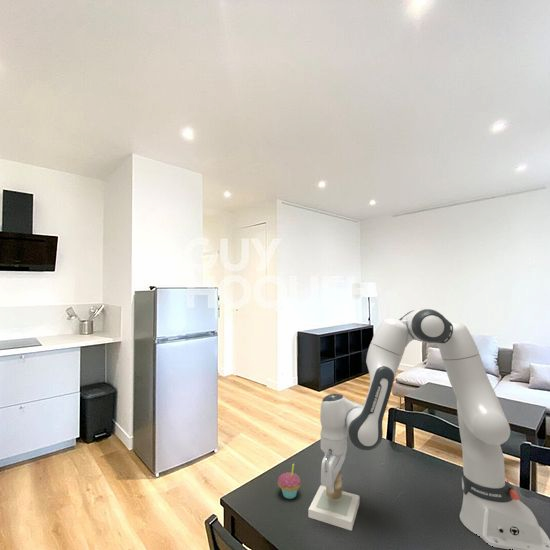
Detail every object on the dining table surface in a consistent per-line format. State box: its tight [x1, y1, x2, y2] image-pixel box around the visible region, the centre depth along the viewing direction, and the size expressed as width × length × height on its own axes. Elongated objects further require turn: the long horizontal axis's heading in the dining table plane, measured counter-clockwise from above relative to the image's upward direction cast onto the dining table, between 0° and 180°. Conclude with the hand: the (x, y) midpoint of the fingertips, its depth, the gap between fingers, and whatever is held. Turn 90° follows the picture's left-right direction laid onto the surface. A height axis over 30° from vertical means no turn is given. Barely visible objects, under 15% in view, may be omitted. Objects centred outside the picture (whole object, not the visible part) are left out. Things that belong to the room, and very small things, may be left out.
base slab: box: [307, 484, 360, 531], centre depth 103 cm, size 14×14×3 cm
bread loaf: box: [326, 470, 343, 499], centre depth 104 cm, size 5×5×7 cm
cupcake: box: [277, 462, 302, 500], centre depth 111 cm, size 9×8×12 cm
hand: (334, 485), depth 103 cm, fingers closed on bread loaf, 5 cm apart
